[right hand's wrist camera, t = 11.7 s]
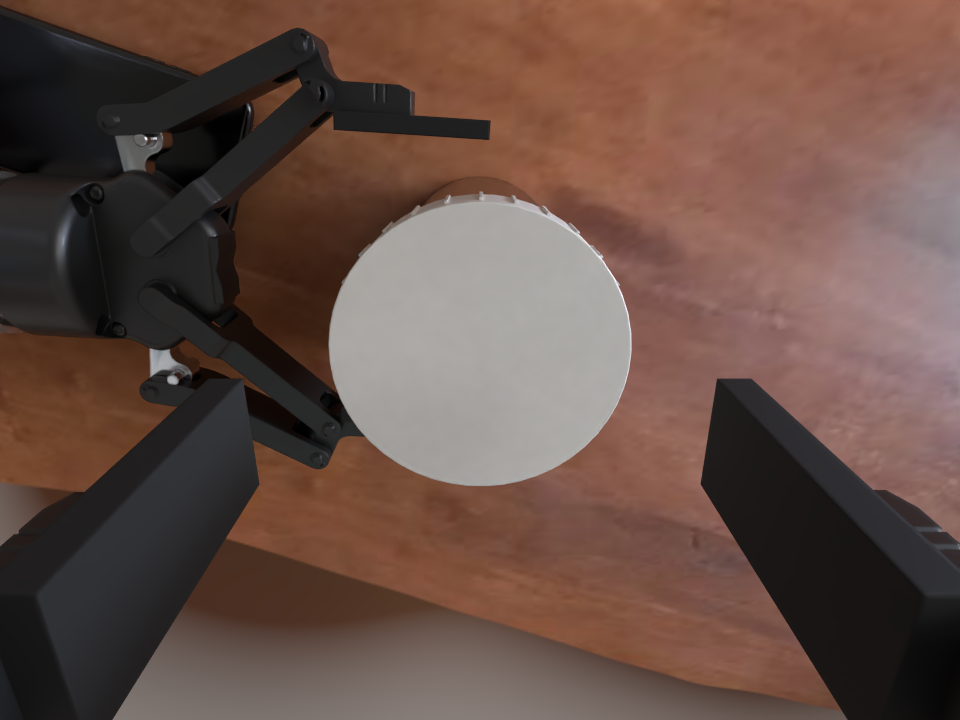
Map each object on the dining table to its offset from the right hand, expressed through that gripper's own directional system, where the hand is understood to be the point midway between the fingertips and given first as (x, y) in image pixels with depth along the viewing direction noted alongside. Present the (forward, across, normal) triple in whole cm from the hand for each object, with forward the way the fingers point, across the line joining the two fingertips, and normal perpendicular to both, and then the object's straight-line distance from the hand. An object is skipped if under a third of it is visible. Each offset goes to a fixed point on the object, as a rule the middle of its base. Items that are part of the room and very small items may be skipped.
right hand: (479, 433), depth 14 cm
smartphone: (+22, +20, -7) cm, 31 cm away
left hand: (+16, 0, 0) cm, 16 cm away
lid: (+5, 0, 0) cm, 5 cm away
